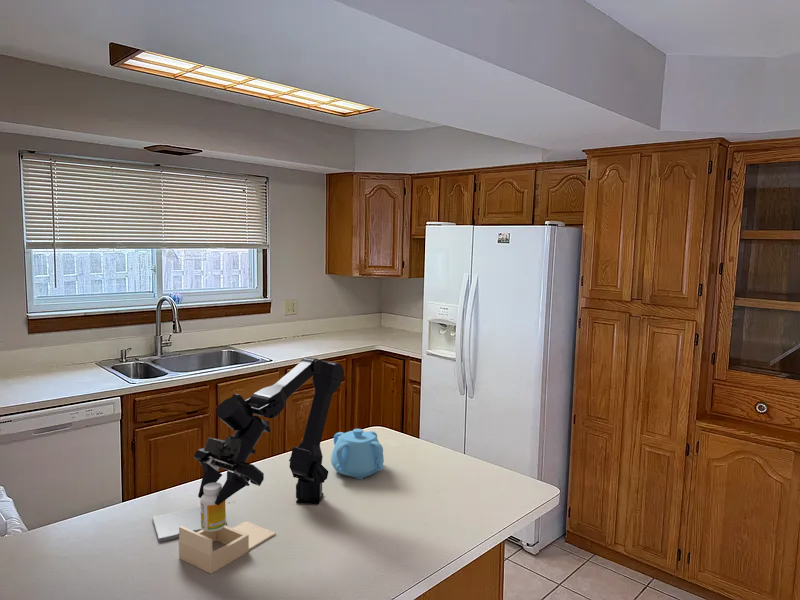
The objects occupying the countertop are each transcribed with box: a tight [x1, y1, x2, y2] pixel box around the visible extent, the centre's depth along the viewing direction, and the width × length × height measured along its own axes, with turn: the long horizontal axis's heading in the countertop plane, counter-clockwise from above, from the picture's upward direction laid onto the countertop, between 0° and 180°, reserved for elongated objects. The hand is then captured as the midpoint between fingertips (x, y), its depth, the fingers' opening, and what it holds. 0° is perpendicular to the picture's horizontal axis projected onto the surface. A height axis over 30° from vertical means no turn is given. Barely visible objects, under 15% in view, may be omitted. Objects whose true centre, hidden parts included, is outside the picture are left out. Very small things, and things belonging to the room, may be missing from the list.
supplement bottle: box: [200, 482, 227, 532], centre depth 129 cm, size 5×5×10 cm
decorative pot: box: [330, 428, 385, 480], centre depth 178 cm, size 16×16×14 cm
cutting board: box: [152, 506, 228, 543], centre depth 144 cm, size 16×12×1 cm
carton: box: [178, 521, 276, 574], centre depth 133 cm, size 20×11×8 cm, turn 148°
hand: (207, 501), depth 128 cm, fingers closed on supplement bottle, 5 cm apart
